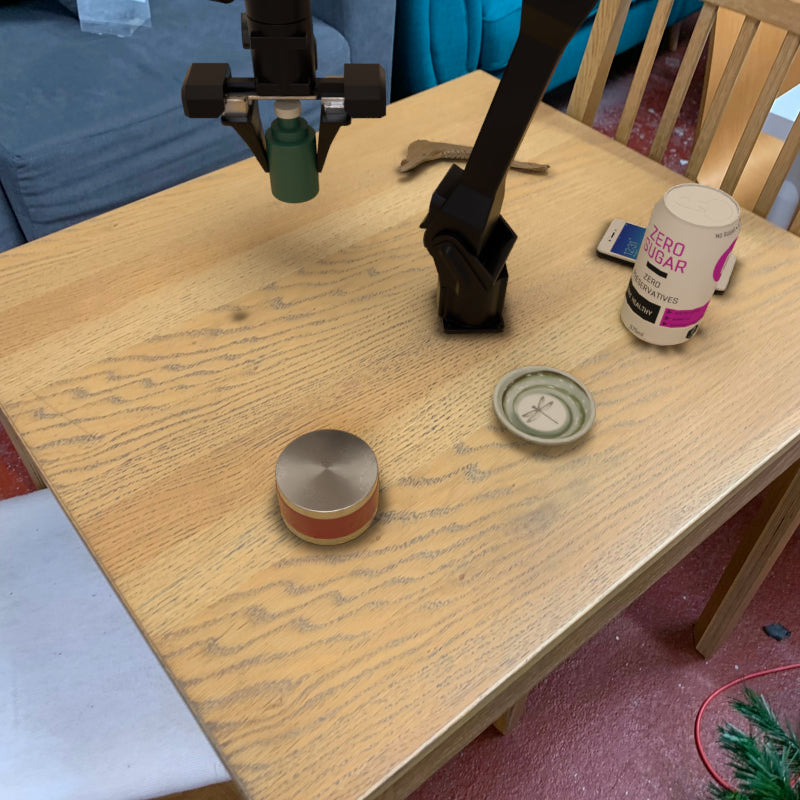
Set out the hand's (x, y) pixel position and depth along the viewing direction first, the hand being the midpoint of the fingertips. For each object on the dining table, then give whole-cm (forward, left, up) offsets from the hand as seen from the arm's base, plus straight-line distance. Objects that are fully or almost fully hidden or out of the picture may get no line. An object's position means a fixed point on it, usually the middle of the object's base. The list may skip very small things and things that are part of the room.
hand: (293, 170), depth 78 cm
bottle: (0, 0, -2) cm, 2 cm away
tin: (-3, +33, -12) cm, 35 cm away
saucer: (-23, +24, -12) cm, 36 cm away
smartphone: (-42, 0, -12) cm, 44 cm away
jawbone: (-21, -18, -12) cm, 31 cm away
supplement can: (-38, +11, -12) cm, 42 cm away
